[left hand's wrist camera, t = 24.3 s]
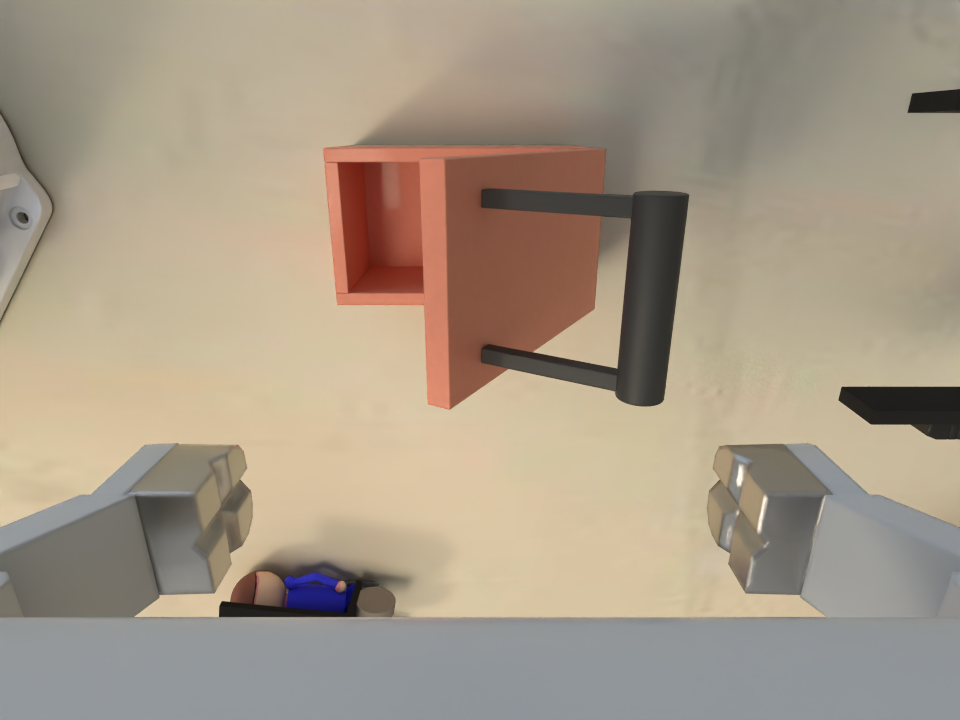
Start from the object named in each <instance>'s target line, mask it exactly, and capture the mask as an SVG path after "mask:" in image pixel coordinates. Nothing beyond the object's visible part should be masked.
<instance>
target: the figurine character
mask: <svg viewBox="0 0 960 720" xmlns="http://www.w3.org/2000/svg"><path fill="white" fill-rule="evenodd" d="M313 581H318V582H320V583H323V584H325V585H318V584H305V583H309V582H313ZM284 584H285V586H286V588H287V589H289V591H288V594H286V589H285V586H284ZM284 584H283V582H282V580H281V579H280V578H279V577H278V576H277V575H275V574H274V573H272V572H269V571H255V572H252V573H250V574H248V575H246V576H244V577H243V578H242V579H241V580H240V581H239V582H238V583H237V584H236V586H235V588H234V590H233V592H232V595H231V600H230V602H225V601H222V602H221V604H220V606H219V617H392V616H393V613H394V608H395V597H394V595H393V594H392V593H391V592H390V591H389V590H387V589H385V588H381V587H376V586H378V585H379V584H377V583H375V582H374V581H360V580H356V581H348V582H346V583H345V582H344V581H338V580H335V579H333V578H330V577H328V576H325V575H323V574H320V573H318V572H316V573H312V574H308V575H305V576H301V577H297V578H294V577H293V576H288V577H286V579H285V581H284ZM346 585H348V586H349V588H348V591H347V586H346ZM362 587H368V588H365V589H362Z"/></svg>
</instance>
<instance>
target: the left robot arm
mask: <svg viewBox="0 0 960 720" xmlns="http://www.w3.org/2000/svg"><path fill="white" fill-rule="evenodd" d="M24 213H25V214H27V216H28V218H29V220H28V221H26V220H25V218H24ZM51 214H52V203H51V200H50V198H49V196H48V195H47V193H46V192H45V190H44V189H43V188H42V186H41V185H40V184H39V183H38V181H37V180H36V179H35V178H34V177H33V176H32V174H31V173H30V172H29V171H28V170H27V168H26V166H25V165H24V163H23V161H22V159H21V156H20V154H19V151H18V149H17V146H16V144H15V141H14V139H13V136H12V134H11V132H10V130H9V128H8V126H7V124H6V123H5V121H4V119H3V118H2V116H1V114H0V320H1V317H2V315H3V313H4V311H5V309H6V307H7V305H8V303H9V301H10V299H11V297H12V295H13V293H14V291H15V289H16V286H17V284H18V282H19V280H20V278H21V276H22V274H23V272H24V270H25V268H26V266H27V264H28V262H29V260H30V258H31V255H32V253H33V251H34V249H35V247H36V245H37V243H38V241H39V239H40V237H41V235H42V233H43V231H44V229H45V227H46V224H47V222H48V220H49V218H50V216H51ZM246 469H247V465H246V460H245V455H244V451H243V450H242V449H241V448H240V446H239V445H209V444H178V443H171V444H149V445H144V446H143V447H142V448H141V449H140V450H139V451H138V452H137V453H136V454H135V455H133V456H132V457H131V458H130V459H129V460H128V461H127V462H126V463H125V464H124V465H123V466H121V467H120V468H119V469H118V470H117V471H116V472H115V473H114V474H113V475H112V476H111V477H109V478H108V479H107V480H106V481H105V482H104V483H103V484H102V485H101V486H100V487H99V488H97V489H96V490H95V491H94V492H93V493H92V494H91V495H79V496H77V497H74V498H72V499H69V500H67V501H64V502H62V503H59V504H57V505H55V506H52V507H50V508H47V509H45V510H42V511H40V512H37V513H35V514H32V515H30V516H27V517H25V518H23V519H20V520H18V521H15V522H13V523H10V524H8V525H5V526H3V527H0V720H960V528H959V527H957V526H954V525H952V524H950V523H947V522H945V521H942V520H940V519H937V518H935V517H932V516H930V515H927V514H925V513H923V512H920V511H918V510H915V509H913V508H910V507H908V506H905V505H903V504H900V503H898V502H896V501H893V500H891V499H888V498H886V497H883V496H881V495H869V494H868V493H867V492H866V491H865V490H864V489H863V488H861V487H860V486H859V485H858V484H857V483H856V482H855V481H854V480H853V479H852V478H851V477H850V476H848V475H847V474H846V473H845V472H844V471H843V470H842V469H841V468H840V467H839V466H838V465H836V464H835V463H834V462H833V461H832V460H831V459H830V458H829V457H828V456H827V455H826V454H825V453H823V452H822V451H821V450H820V449H819V448H818V447H817V446H816V445H812V444H809V443H801V444H758V445H725V446H719V448H718V450H717V452H716V455H715V459H714V465H713V469H714V471H715V472H716V474H717V475H718V477H719V479H720V480H719V481H718V482H717V483H716V484H715V485H714V486H713V487H712V488H711V489H710V490H709V496H708V504H707V513H708V524H709V527H710V530H711V533H712V536H713V538H714V540H715V541H716V543H717V545H718V546H719V547H721V548H722V549H724V550H726V551H727V552H729V553H730V558H729V566H730V568H731V569H732V571H733V573H734V574H735V576H736V578H737V580H738V581H739V583H740V585H741V586H742V588H743V590H744V591H745V593H749V594H786V595H801V596H800V597H801V598H802V599H803V600H805V601H806V602H807V603H809V604H810V605H811V606H813V607H814V608H815V609H817V610H818V611H819V612H821V613H822V614H823V615H825V616H826V617H134V616H135V615H137V614H138V613H140V612H141V611H142V610H144V609H145V608H146V607H148V606H149V605H150V604H152V603H153V602H154V601H156V600H157V599H158V598H159V595H173V594H209V593H215V592H216V590H217V588H218V586H219V585H220V583H221V581H222V580H223V578H224V576H225V574H226V573H227V571H228V569H229V568H230V566H231V558H230V553H231V552H233V551H234V550H236V549H238V548H239V547H241V546H242V545H243V543H244V541H245V540H246V538H247V536H248V534H249V530H250V526H251V522H252V517H253V502H252V495H251V490H250V489H249V488H248V487H247V486H246V485H245V484H244V483H243V482H242V481H241V480H240V479H241V477H242V475H243V474H244V472H245V471H246Z"/></svg>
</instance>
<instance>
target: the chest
mask: <svg viewBox="0 0 960 720" xmlns="http://www.w3.org/2000/svg"><path fill="white" fill-rule="evenodd" d="M571 149H588V147H581V146H575V145H350V146H340V147H330V148H324V149H323V151H324V161H325V174H326V185H327V196H328V207H329V219H330V230H331V241H332V252H333V263H334V275H335V286H336V293H337V294H336V296H337V304H338V305H424V278H423V249H422V220H421V190H420V161H419V160H420V159H421V158H432V157H449V156H467V155H484V154H502V153H519V152H536V151H554V150H571ZM592 149H595V148H592Z"/></svg>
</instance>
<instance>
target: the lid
mask: <svg viewBox="0 0 960 720" xmlns="http://www.w3.org/2000/svg"><path fill="white" fill-rule="evenodd" d="M605 159H606V149H592V148H588V149H571V150H554V151H536V152H519V153H502V154H484V155H467V156H449V157H432V158H421V159H420V160H419V161H420V190H421V220H422V249H423V278H424V308H425V337H426V366H427V396H428V404H430V405H434V406H438V407H441V408H445V409H451V408H453V407H454V406H456V405H457V404H459V403H460V402H461V401H463V400H464V399H466V398H467V397H469V396H470V395H471V394H473V393H474V392H476V391H477V390H479V389H480V388H482V387H483V386H484V385H486V384H487V383H489V382H490V381H492V380H493V379H494V378H496V377H497V376H499V375H500V374H502V373H503V372H504V371H506V370H507V369H512V370H517V371H522V372H527V373H531V374H536V375H541V376H546V377H550V378H555V379H560V380H565V381H569V382H574V383H579V384H583V385H588V386H593V387H598V388H602V389H607V390H612V391H615V394H616V397H617V398H618V399H619V400H621V401H622V402H625V403H627V404H631V405H635V406H655V405H658V404H660V403H662V402H663V400H664V395H665V387H666V379H667V370H668V362H669V354H670V346H671V338H672V330H673V322H674V314H675V306H676V298H677V290H678V282H679V274H680V266H681V258H682V250H683V241H684V233H685V225H686V217H687V209H688V201H689V194H687V193H682V192H672V191H640V192H635V193H634V194H633V196H632V195H613V194H603V186H604V172H605ZM601 216H605V217H619V218H631V226H630V237H629V248H628V259H627V270H626V281H625V292H624V303H623V314H622V325H621V336H620V347H619V358H618V369H616V368H611V367H606V366H601V365H595V364H590V363H585V362H580V361H575V360H569V359H564V358H559V357H554V356H549V355H544V354H538V353H533V351H535V350H536V349H538V348H539V347H540V346H542V345H543V344H545V343H546V342H548V341H549V340H550V339H552V338H553V337H555V336H556V335H558V334H559V333H561V332H562V331H563V330H565V329H566V328H568V327H569V326H571V325H572V324H573V323H575V322H576V321H578V320H579V319H581V318H582V317H584V316H585V315H586V314H588V313H589V312H591V311H592V310H594V308H595V296H596V282H597V268H598V255H599V241H600V227H601Z"/></svg>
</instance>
